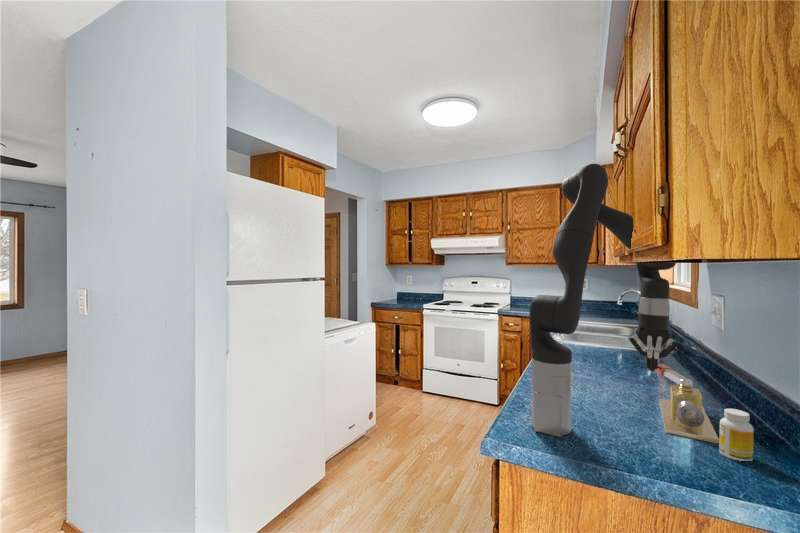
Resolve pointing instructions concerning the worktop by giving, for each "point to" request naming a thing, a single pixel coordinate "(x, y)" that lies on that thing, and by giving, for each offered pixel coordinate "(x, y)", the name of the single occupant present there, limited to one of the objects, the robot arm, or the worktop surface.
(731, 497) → the worktop surface
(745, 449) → the supplement bottle
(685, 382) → the valve lever
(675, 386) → the valve rig
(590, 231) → the robot arm
